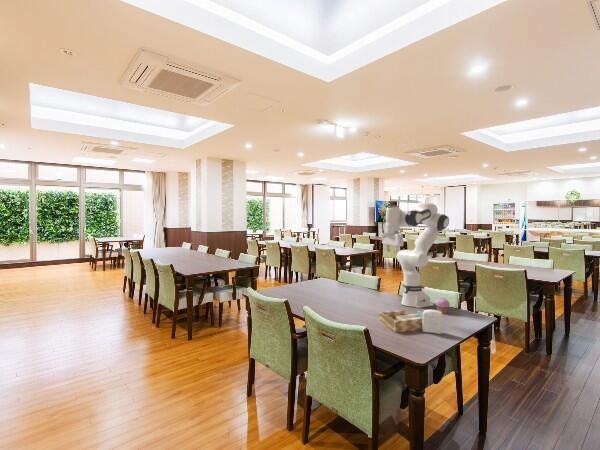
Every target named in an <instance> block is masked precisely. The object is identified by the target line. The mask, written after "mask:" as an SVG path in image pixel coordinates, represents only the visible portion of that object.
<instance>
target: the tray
mask: <svg viewBox="0 0 600 450" xmlns="http://www.w3.org/2000/svg"><path fill="white" fill-rule="evenodd" d="M423 312H424V311H421V310H419V309H418V310H416V313H412V314H406V315H398V316H395V320H396V321H397V320H407V319H418V318H423Z"/></svg>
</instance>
